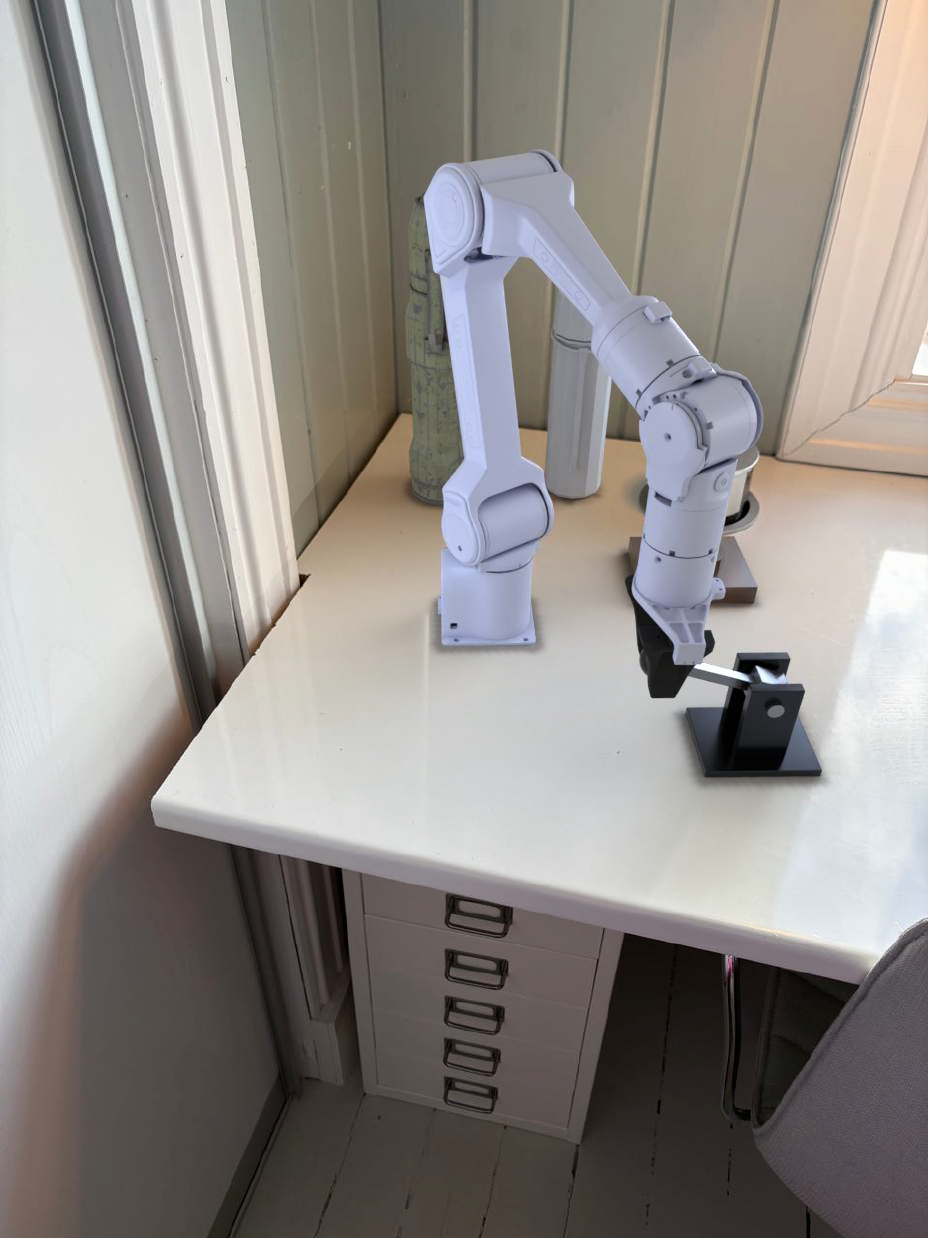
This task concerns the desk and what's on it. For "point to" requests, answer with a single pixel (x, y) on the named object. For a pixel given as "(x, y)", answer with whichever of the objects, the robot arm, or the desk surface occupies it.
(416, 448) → the thermos
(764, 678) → the lever
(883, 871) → the desk surface
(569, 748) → the desk surface
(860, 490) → the desk surface
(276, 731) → the desk surface
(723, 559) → the control block
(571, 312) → the water bottle
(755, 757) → the bracket
